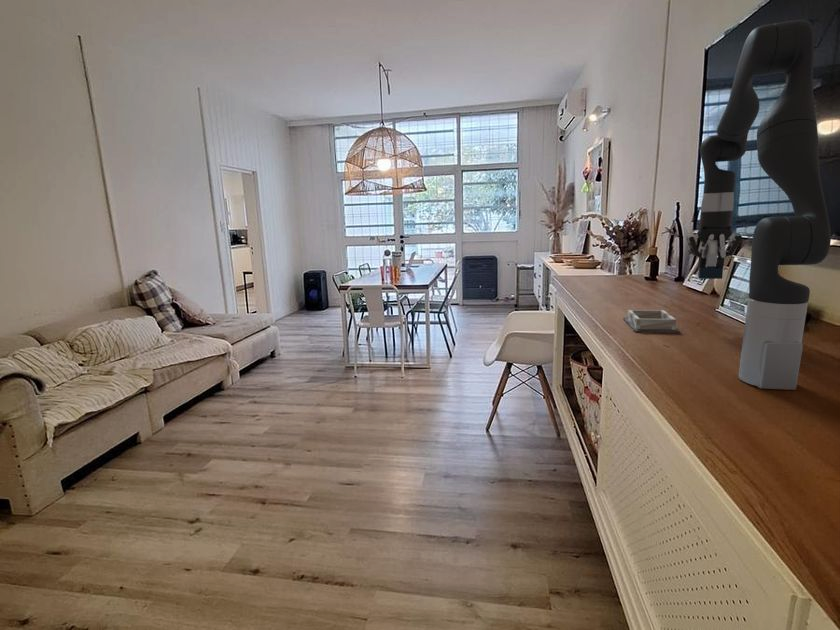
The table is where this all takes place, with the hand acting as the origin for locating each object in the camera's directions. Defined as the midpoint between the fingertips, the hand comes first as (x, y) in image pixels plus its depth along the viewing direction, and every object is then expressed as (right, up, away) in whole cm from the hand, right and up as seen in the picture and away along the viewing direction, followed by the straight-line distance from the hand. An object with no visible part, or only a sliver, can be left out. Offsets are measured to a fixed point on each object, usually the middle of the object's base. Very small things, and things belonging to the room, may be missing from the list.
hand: (710, 270), depth 127 cm
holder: (-14, -16, +7) cm, 23 cm away
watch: (0, -2, +1) cm, 2 cm away
